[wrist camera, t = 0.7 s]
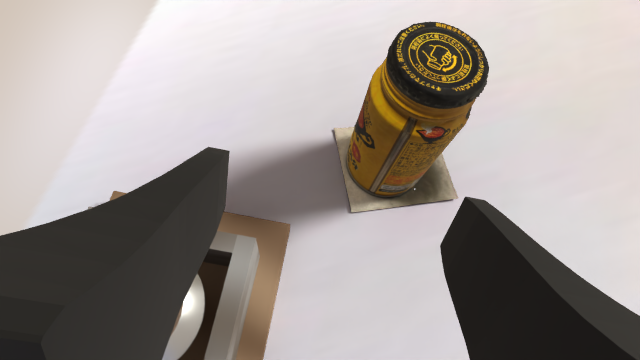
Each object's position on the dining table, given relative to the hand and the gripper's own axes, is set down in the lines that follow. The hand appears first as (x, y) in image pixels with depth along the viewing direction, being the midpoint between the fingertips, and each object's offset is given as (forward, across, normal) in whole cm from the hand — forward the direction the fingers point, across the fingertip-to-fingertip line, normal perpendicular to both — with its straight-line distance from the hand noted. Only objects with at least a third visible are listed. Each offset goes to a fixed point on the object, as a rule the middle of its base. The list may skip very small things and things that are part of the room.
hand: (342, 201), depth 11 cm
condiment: (+17, -6, +7) cm, 19 cm away
